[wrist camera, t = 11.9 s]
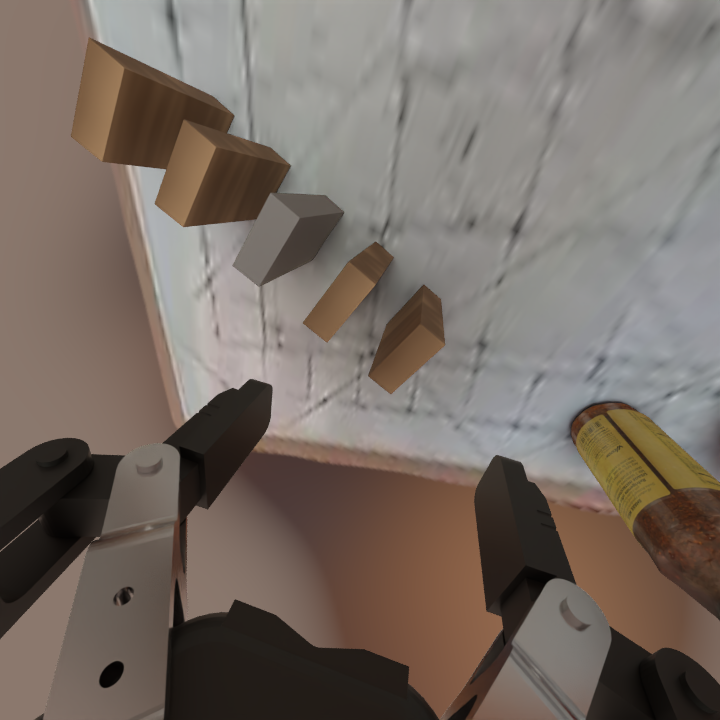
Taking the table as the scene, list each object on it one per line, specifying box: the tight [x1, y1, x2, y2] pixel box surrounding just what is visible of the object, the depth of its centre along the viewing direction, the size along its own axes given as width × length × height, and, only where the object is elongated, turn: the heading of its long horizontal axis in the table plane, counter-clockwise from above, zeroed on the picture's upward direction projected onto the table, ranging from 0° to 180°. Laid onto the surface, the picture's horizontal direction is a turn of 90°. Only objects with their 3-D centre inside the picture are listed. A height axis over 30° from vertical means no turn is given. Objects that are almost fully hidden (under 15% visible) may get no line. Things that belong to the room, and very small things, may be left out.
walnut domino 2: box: [155, 119, 291, 227], centre depth 22 cm, size 2×5×10 cm, turn 142°
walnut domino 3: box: [303, 242, 394, 342], centre depth 23 cm, size 2×5×10 cm, turn 142°
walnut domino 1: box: [71, 38, 234, 169], centre depth 21 cm, size 2×5×10 cm, turn 142°
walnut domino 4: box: [368, 285, 445, 394], centre depth 24 cm, size 2×5×10 cm, turn 142°
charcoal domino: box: [232, 193, 344, 287], centre depth 23 cm, size 2×5×10 cm, turn 142°
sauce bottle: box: [571, 403, 720, 620], centre depth 21 cm, size 6×6×20 cm
